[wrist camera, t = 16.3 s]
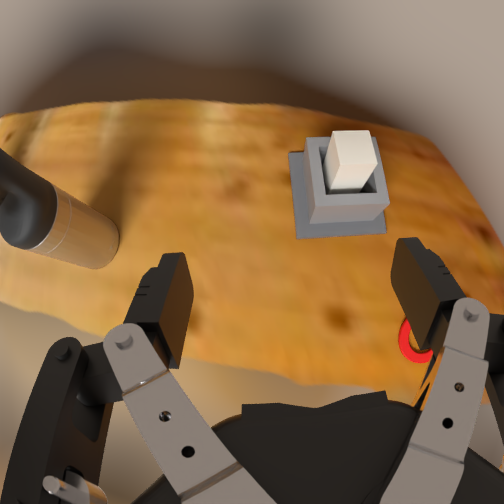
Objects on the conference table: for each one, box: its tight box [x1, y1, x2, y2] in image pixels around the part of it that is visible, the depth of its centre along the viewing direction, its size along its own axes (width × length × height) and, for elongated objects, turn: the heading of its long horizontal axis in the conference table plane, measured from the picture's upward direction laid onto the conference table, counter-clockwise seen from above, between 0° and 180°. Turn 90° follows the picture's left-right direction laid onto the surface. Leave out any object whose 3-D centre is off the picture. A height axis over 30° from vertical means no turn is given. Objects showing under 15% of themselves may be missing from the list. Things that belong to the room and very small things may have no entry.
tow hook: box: [398, 318, 433, 363], centre depth 37 cm, size 8×13×9 cm
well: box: [288, 137, 390, 239], centre depth 44 cm, size 14×14×9 cm
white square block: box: [322, 130, 378, 195], centre depth 40 cm, size 4×4×14 cm
